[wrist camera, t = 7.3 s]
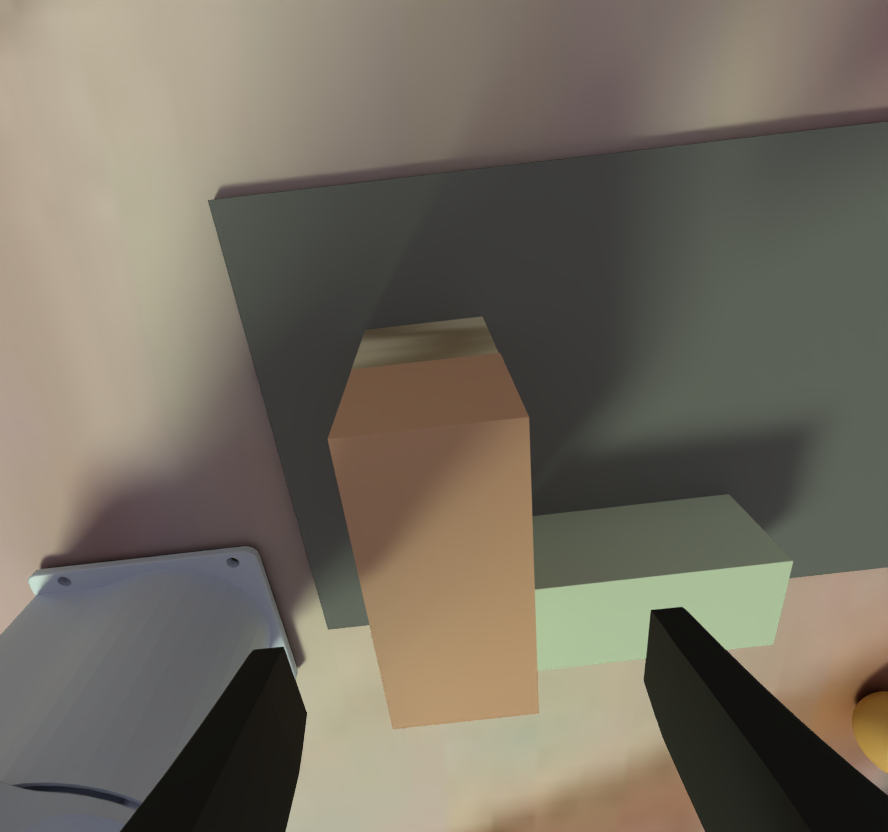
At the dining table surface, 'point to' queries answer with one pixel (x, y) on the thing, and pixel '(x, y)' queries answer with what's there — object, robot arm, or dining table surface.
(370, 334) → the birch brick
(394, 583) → the tan rectangular block
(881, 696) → the figurine
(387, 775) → the dining table surface
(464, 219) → the mat
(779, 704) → the robot arm
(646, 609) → the sage brick
